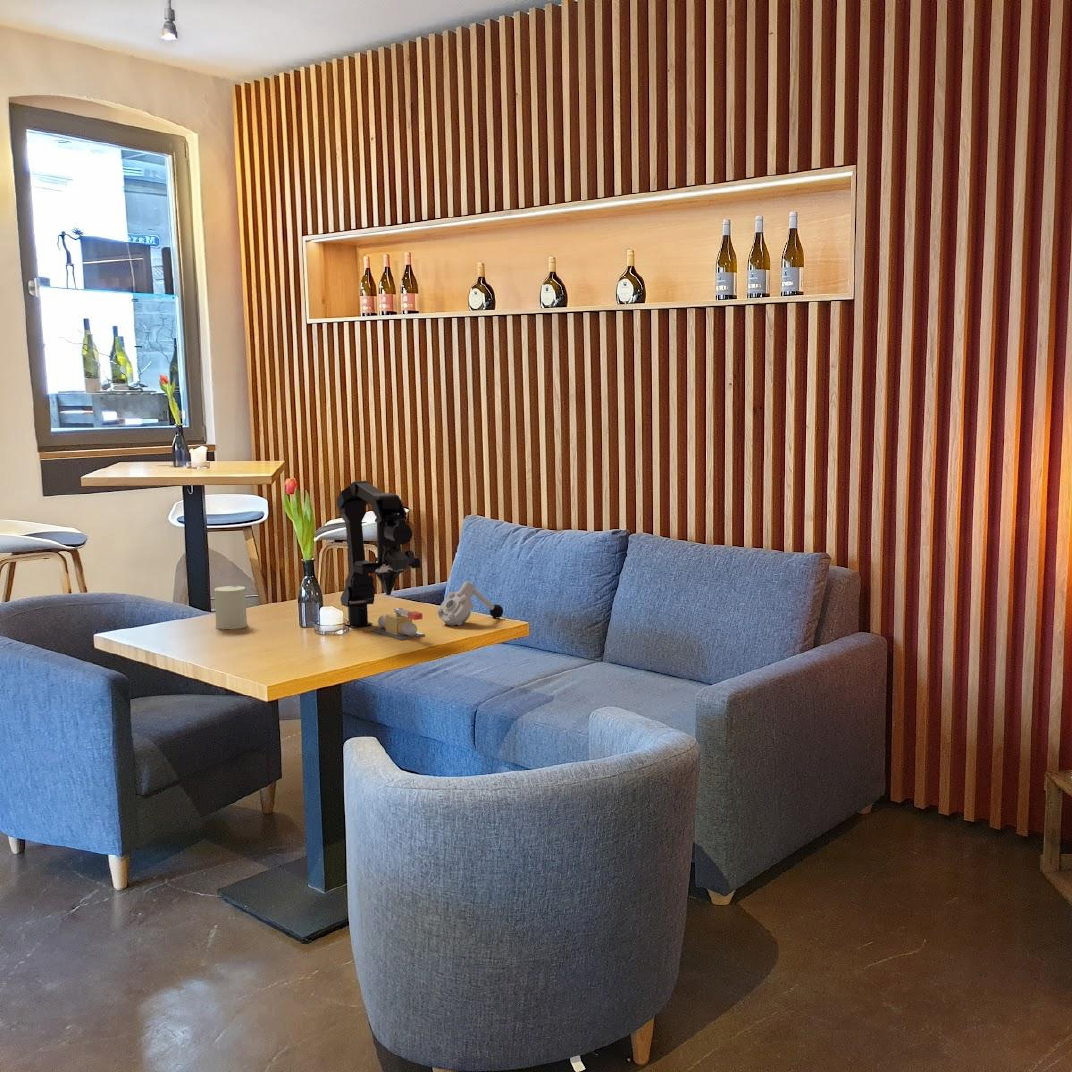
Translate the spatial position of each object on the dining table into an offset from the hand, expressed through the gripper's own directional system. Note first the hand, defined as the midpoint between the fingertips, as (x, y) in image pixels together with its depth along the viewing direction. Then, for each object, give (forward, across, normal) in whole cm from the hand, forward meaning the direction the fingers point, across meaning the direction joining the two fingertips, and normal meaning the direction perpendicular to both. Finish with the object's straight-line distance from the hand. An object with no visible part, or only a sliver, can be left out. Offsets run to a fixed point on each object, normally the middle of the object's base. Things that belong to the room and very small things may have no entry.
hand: (388, 595), depth 316 cm
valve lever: (+6, +5, -2) cm, 8 cm away
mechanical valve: (+13, +32, +5) cm, 35 cm away
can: (+14, -28, +45) cm, 55 cm away
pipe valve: (+12, +5, +3) cm, 14 cm away
